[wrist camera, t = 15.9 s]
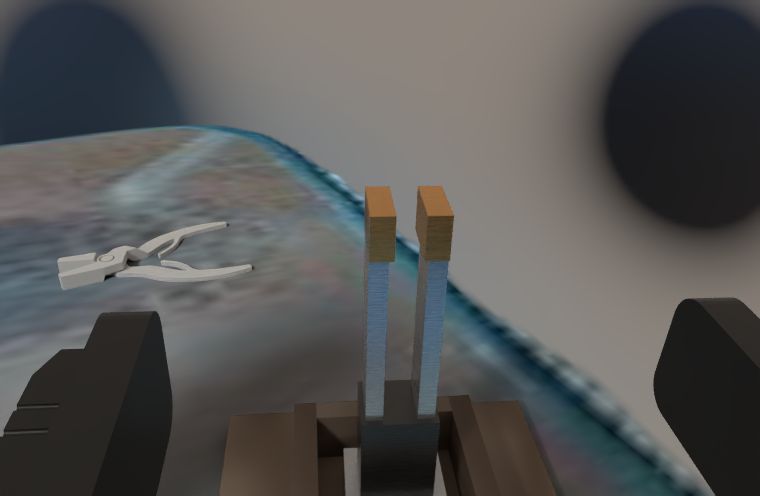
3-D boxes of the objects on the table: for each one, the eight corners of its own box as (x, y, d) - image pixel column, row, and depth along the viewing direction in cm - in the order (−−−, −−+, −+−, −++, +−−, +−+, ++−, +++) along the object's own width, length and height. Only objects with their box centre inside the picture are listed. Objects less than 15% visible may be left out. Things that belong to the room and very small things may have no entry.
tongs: (346, 538, 32) (346, 224, 24) (343, 474, 36) (342, 181, 27) (445, 532, 33) (480, 222, 24) (433, 470, 36) (460, 180, 28)
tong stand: (199, 664, 28) (189, 608, 26) (231, 427, 40) (225, 377, 38) (602, 628, 30) (620, 572, 28) (515, 412, 42) (524, 363, 40)
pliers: (251, 259, 56) (60, 297, 50) (253, 275, 57) (64, 314, 51) (223, 212, 63) (55, 240, 58) (225, 227, 64) (58, 256, 58)
